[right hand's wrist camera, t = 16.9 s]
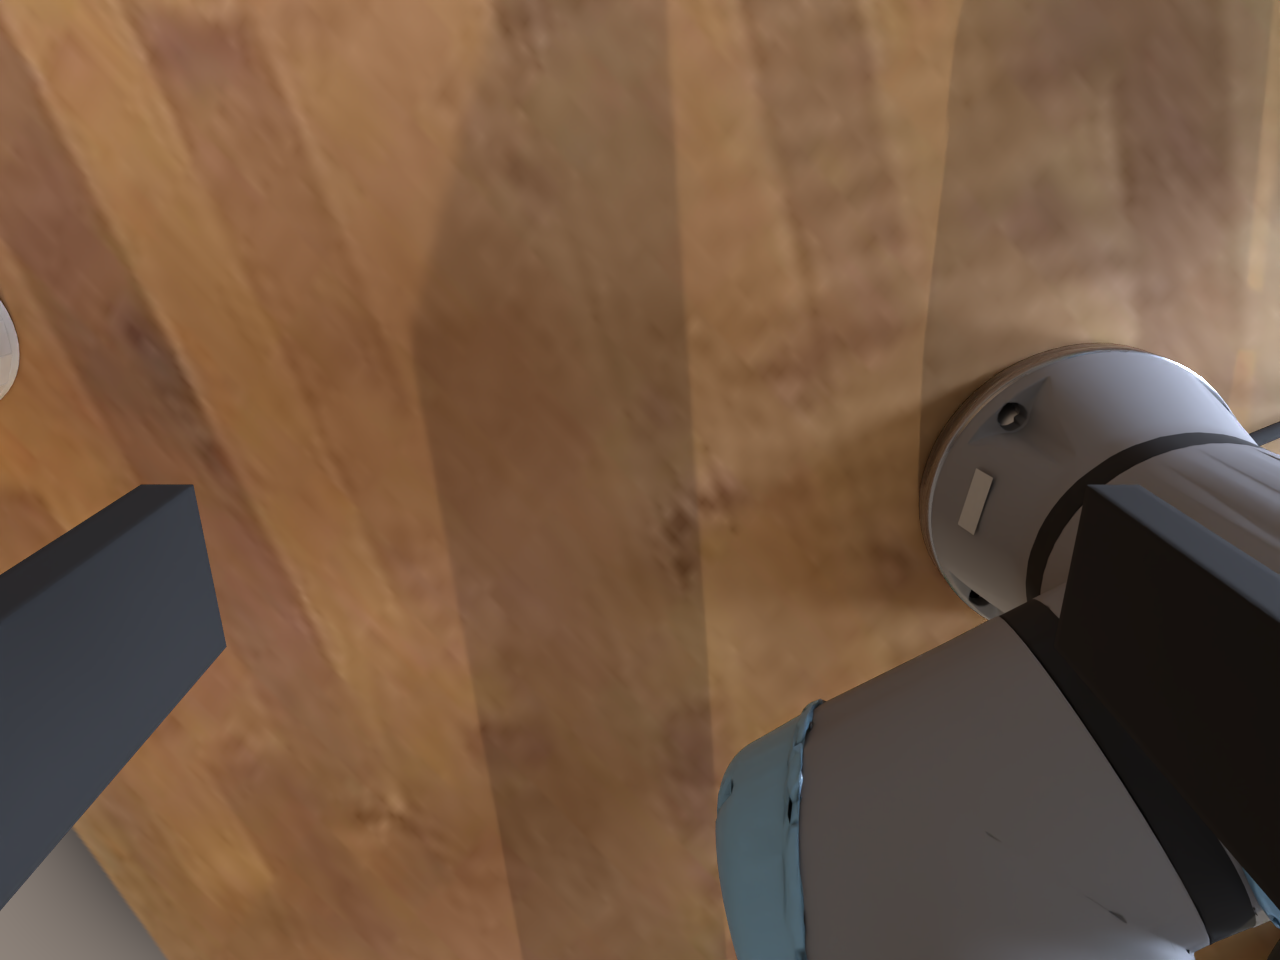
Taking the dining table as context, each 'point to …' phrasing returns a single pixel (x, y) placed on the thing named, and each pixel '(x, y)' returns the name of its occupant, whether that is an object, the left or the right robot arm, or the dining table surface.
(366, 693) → the dining table surface
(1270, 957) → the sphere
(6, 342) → the ceramic cup
